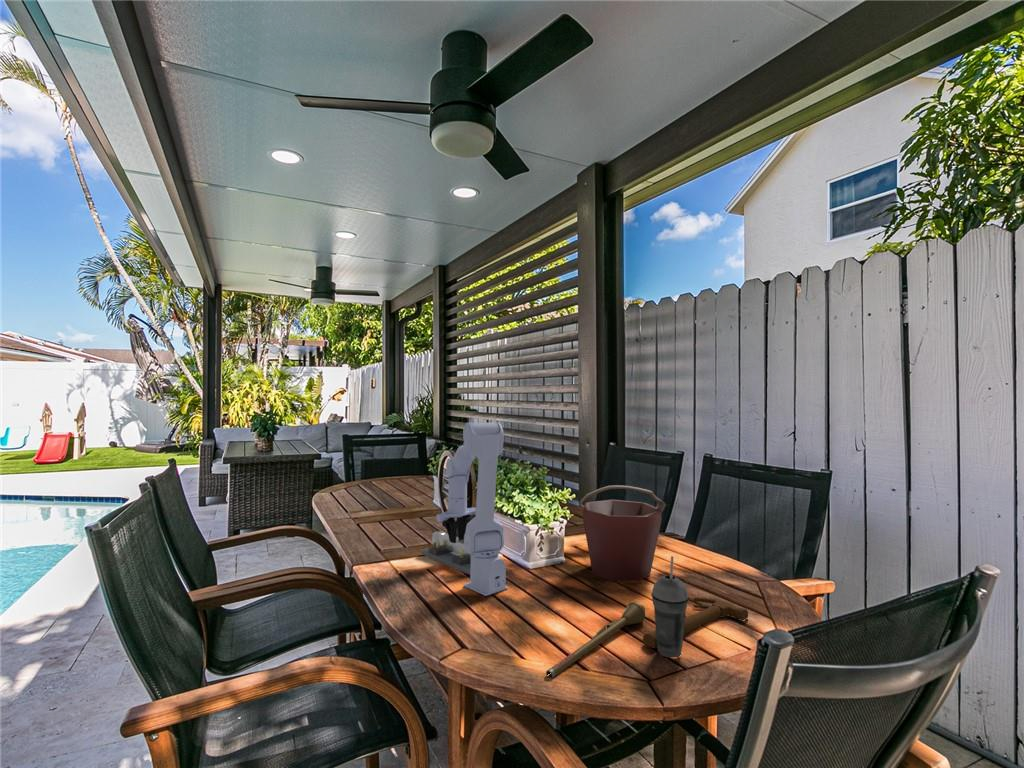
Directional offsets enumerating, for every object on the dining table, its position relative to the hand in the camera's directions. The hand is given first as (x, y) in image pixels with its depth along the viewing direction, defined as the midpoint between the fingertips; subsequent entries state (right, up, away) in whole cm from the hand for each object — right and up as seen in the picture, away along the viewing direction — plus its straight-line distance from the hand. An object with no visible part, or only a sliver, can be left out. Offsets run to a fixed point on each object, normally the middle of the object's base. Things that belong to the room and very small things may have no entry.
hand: (457, 541), depth 165 cm
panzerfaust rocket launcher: (+36, -7, -53) cm, 64 cm away
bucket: (+49, -7, -9) cm, 50 cm away
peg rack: (0, -6, 0) cm, 6 cm away
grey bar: (0, -3, 0) cm, 3 cm away
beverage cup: (+49, -6, -56) cm, 75 cm away
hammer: (+57, -7, -44) cm, 72 cm away
